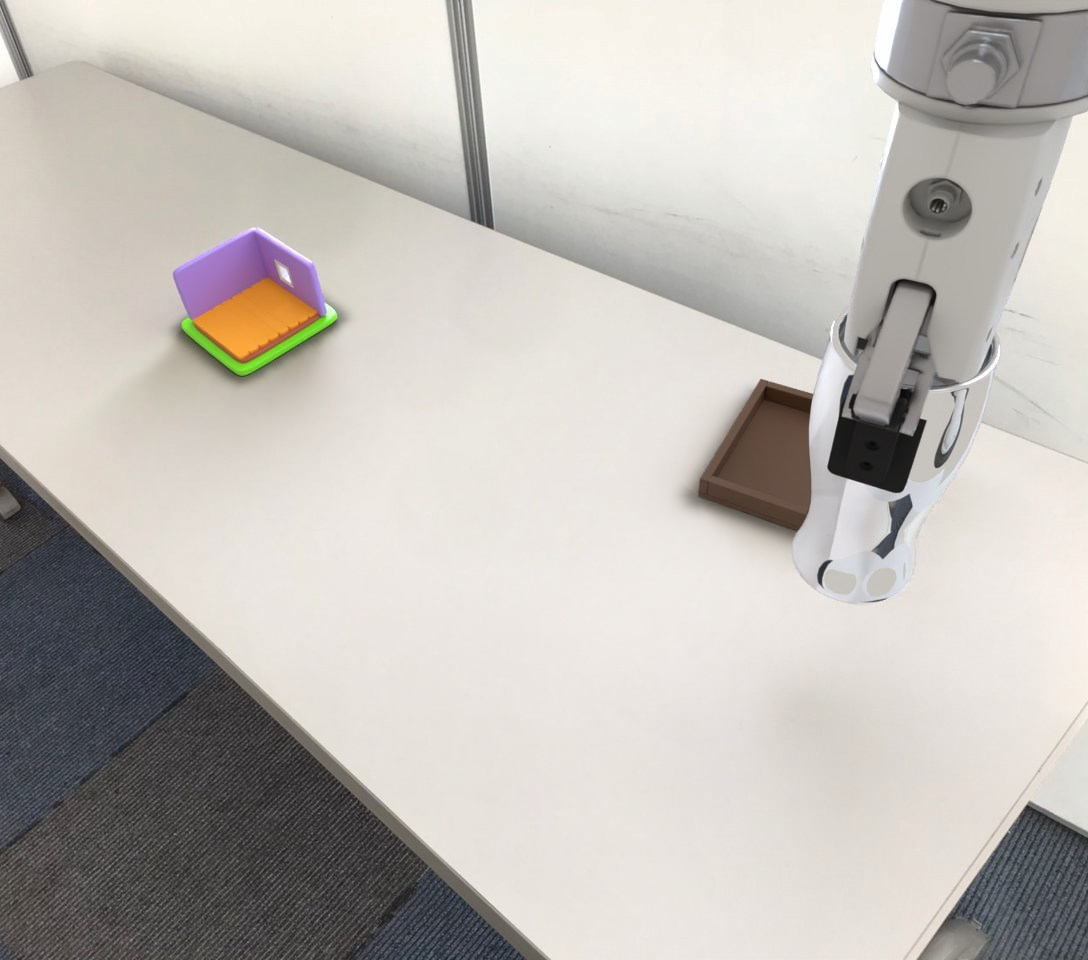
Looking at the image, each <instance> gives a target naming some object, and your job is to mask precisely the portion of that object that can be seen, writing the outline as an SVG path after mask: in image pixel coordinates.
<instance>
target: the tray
mask: <svg viewBox="0 0 1088 960" xmlns="http://www.w3.org/2000/svg"><path fill="white" fill-rule="evenodd" d="M812 397H813V393H811V392H808V391H805V390H801V389H798V388H794V387H790V386H788V385H784V384H780V383H777V382H773V381H769V380H767V379H763V378H760V379H759V380H758V382H757V384H756V385H755V387H754V388H753V390H752V392H751V394H750V395H749V397H748V398H747V401H746V402H745V404H744V405H743V407H742V409H741V410H740V412H738V413H739V414H738V415H737V416H736V418H735V420H734V422H733V423H732V425H731V426H730V428H729V430H728V431H727V433H726V434H725V437H724V438H723V439H722V441H721V443H720V445H718V448H717V449H716V451H715V453H714V454H713V456H712V458H711V459H710V461H709V463H707V466H706V468H705V469H704V471H703V472H702V474H701V476H700V477H699V484H698V492H697V496H698V497H701V498H703V499H705V500H709V501H712V502H714V503H718V504H720V505H723V506H726V507H728V508H732V509H734V510H737V511H740V512H743V513H746V514H749V515H750V516H751V515H752V516H755V517H757V518H760V519H763V520H765V521H768V522H770V523H774V524H776V525H780V526H783V527H786V528H788V529H791V530H794V531H796V532H797V530H798V528H799V526H800V524H801V522H802V521H803V519H804V517H805V515H806V513H807V510H808V507H809V502H810V474H809V455H808V431H809V417H810V410H811V404H812Z"/></svg>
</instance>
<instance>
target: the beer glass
mask: <svg viewBox="0 0 1088 960" xmlns="http://www.w3.org/2000/svg"><path fill="white" fill-rule="evenodd" d="M848 309H849V304H848V305H847V306H846V307H844V308H843V309H842V310H841V311H840V312H838V314H837V315H836V317H835V319H834V320H833V322H832V325H831V329H830V336H829V339H828V341H827V344H826V348H825V350H824V354H823V357H822V360H821V363H820V367H819V369H818V372H817V376H816V381H815V386H814V389H813V393H812V394H813V397H812V404H811V410H810V417H809V431H808V455H809V474H810V502H809V507H808V510H807V513H806V515H805V517H804V519H803V521H802V522H801V524H800V526H799V528H798V530H797V531H796V532H795V534H794V535H793V536H794V537H793V540H792V542H791V543H792V544H791V558H792V563H793V565H794V568H795V569H796V572H797V573H798V575H799V576H800V577H801V578H802V580H803V581H804V582H805V583H806V584H807V585H808V586H810V587H811V588H812V589H813V590H814V591H816V592H817V593H819V594H821V595H823V596H825V597H826V598H830V599H832V600H834V601H838V602H841V603H844V604H845V603H846V604H850V605H859V606H861V605H864V606H865V605H874V604H880V603H884V602H887V601H889V600H892V599H894V598H895V597H897V596H899V595H900V594H902V592H903V591H904V590H905V589H906V588H907V587H908V586H909V585H910V583H911V581H912V579H913V577H914V574H915V571H916V563H917V544H918V538H919V534H920V532H921V530H922V527H923V525H924V523H925V521H926V520H927V518H929V516H930V514H931V513H932V511H933V510H934V508H935V507H936V506H937V504H938V503H939V501H940V500H941V498H942V497H943V496H944V494H945V493H946V492H947V490H948V489H949V488H950V485H951V484H952V483H953V481H954V480H955V478H956V476H957V475H958V473H959V472H960V469H961V468H962V466H963V464H964V463H965V461H966V460H967V458H968V456H969V453H970V451H971V449H972V447H973V444H974V441H975V440H976V438H977V435H978V433H979V429H980V426H981V424H982V420H983V417H984V415H985V411H986V408H987V405H988V401H989V397H990V392H991V389H992V385H993V381H994V376H995V372H996V368H997V365H998V362H999V361H1000V357H1001V355H1002V354H1001V352H1002V346H1001V345H1002V344H1001V340H1000V337H999V335H998V332H997V331H996V332H995V334H994V337H993V339H992V342H991V344H990V347H989V350H988V352H987V354H986V357H985V359H984V362H983V364H982V366H981V368H980V370H979V372H978V374H977V375H975V376H974V377H973V378H971V379H969V380H967V381H965V382H962V383H959V382H955V380H952V379H947V378H942V377H938V375H937V373H936V374H935V376H934V379H933V382H932V385H931V388H930V391H929V394H928V397H927V399H926V402H925V405H924V408H923V411H922V414H921V417H920V418H921V419H924V420H927V422H926V425H925V428H924V431H923V435H922V438H921V441H920V444H919V447H918V450H917V453H916V456H915V459H914V462H913V466H912V469H911V472H910V475H909V478H908V481H907V484H906V486H905V488H904V490H903V491H902V492H901V493H892V492H889V491H886V490H882V489H879V488H876V487H873V486H869V485H866V484H863V483H860V482H856V481H853V480H850V479H847V478H843V477H840V476H837V475H834V474H832V473H831V472H829V470H828V468H827V465H828V461H829V457H830V452H831V448H832V444H833V439H834V435H835V431H836V426H837V422H838V418H839V413H840V409H841V405H842V403H843V401H844V399H845V398H847V395H848V392H849V389H850V386H851V382H852V379H853V376H854V373H855V370H856V366H857V363H858V360H859V357H860V354H861V352H860V351H859V353H858V354H857V355H856V356H853V355H852V354H851V352H850V351H849V350H848V348H847V346H846V344H845V342H844V337H845V328H846V321H847V315H848ZM915 349H916V350H920V351H924V352H929V353H930V352H931V351H930V347H929V342H928V338H927V337H924V336H920V337H919V339H918V342H917V345H916V348H915ZM918 374H919V372H917V371H913V370H909V369H907V372H906V375H905V377H904V380H903V383H902V386H901V390H900V396H899V397H901V398H905V399H907V401H908V403H909V400H910V397H911V394H912V392H913V389H914V386H915V383H916V380H917V377H918Z"/></svg>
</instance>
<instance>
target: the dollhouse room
mask: <svg viewBox="0 0 1088 960" xmlns="http://www.w3.org/2000/svg"><path fill="white" fill-rule="evenodd" d="M172 278H173V281H174V284H175V287H176V289H177V292H178V294H179V297H180V300H181V302H182V304H183V307H184V309H185V311H186V314H187V316H188V317H186V318H185V319H183V320H182V322H181V328H182V330H183V332H185V334H186V335H187V336H188V337H190V338H191V339H192V340H193V341H194V342H196V343H197V344H198V345H199V346H201V348H203V349H204V351H206V352H207V353H209V354H210V355H211V356H212V357H214V358H215V359H216V360H218V362H220V363H221V364H222V365H224V366H225V367H226V368H228V370H230V371H231V372H233V373H235V374H236V375H238V376H241V377H243V376H247V375H250V374H251V373H254V372H255V371H257V370H259V369H260V368H262V367H264V366H265V365H267V364H269V363H270V362H273V361H274V360H276V359H277V358H279V357H280V356H283V355H284V354H285V353H286V352H289V351H290V350H292V349H294V348H295V347H298V345H300V344H302V343H304V342H305V341H307V340H308V339H310V338H311V337H313V336H314V335H316V334H317V333H319V332H321V331H323V330H325V329H326V328H327V327H329V326H330V325H332V324H333V323H335V322H336V321H337V320H338V313H337V311H336V310H335V309H334V308H333V307H331V306H330V305H329V304H328V303H326V302H325V298H324V295H323V291H322V290H323V289H322V287H321V283H320V279H319V275H318V271H317V269H316V265H315V262H313V261H312V260H310V259H309V258H307V257H306V256H304V255H302V254H301V253H299V252H298V251H296V250H295V249H293V248H291V247H289V246H288V245H287V244H285V243H283V242H282V241H280V240H279V239H278V238H276V237H274V236H273V235H271V234H269V233H268V232H266V231H265V230H263V229H261V228H260V227H251V228H248V229H246V230H243V231H242V232H240V233H238V234H236V235H234V236H233V237H230V238H229V239H227V240H225V241H223V242H221V243H219V244H218V245H216V246H214V247H212V248H210V249H209V250H207V251H205V252H203V253H201V254H199V255H197V256H196V257H194V258H191V259H190V260H188V261H187V262H185V263H183V264H182V265H180V266H178V267H177V268H176V269H174V270H173V272H172Z"/></svg>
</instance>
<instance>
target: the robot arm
mask: <svg viewBox="0 0 1088 960" xmlns="http://www.w3.org/2000/svg"><path fill="white" fill-rule="evenodd" d="M878 21H879V22H878V26H877V32H876V38H875V41H874V47H873V55H872V58H871V59H872V60H871V64H870V72H871V76H872V79H873V81H874V82H875V84H876V86H877V87H878V88H879V89H881V91H883V93H884V94H886V95H887V96H889V97H890V98H892V100H895V102H896V103H895V106H894V109H893V113H892V118H891V122H890V126H889V130H888V134H887V138H886V142H885V146H884V150H883V154H882V157H881V158H880V161H879V170H878V175H877V178H876V182H875V183H876V184H875V188H874V191H873V195H872V200H871V204H870V208H869V213H868V217H867V221H866V225H865V229H864V233H863V238H862V242H861V247H860V252H859V255H858V256H859V257H858V261H857V265H856V270H855V275H854V279H853V284H852V289H851V294H850V299H849V304H848V305H849V309H848V315H847V321H846V328H845V337H844V342H845V344H846V346H847V348H848V350H849V351H850V352H851V354H852V355H853V356H856V355H857V354H858V353H859V351H860V352H861V354H860V357H859V360H858V363H857V366H856V370H855V373H854V376H853V379H852V382H851V386H850V389H849V392H848V395H847V398H845V399H844V401H843V403H842V405H841V409H840V413H839V418H838V422H837V426H836V431H835V435H834V439H833V444H832V448H831V452H830V457H829V461H828V465H827V468H828V470H829V472H831V473H832V474H834V475H837V476H840V477H843V478H847V479H850V480H853V481H856V482H860V483H863V484H866V485H869V486H873V487H876V488H879V489H882V490H886V491H889V492H892V493H901V492H902V491H903V490H904V488H905V486H906V484H907V481H908V478H909V475H910V472H911V469H912V466H913V462H914V459H915V456H916V453H917V450H918V447H919V444H920V441H921V438H922V435H923V431H924V428H925V425H926V422H927V420H924V419H921V418H920V417H921V414H922V411H923V408H924V405H925V402H926V399H927V397H928V394H929V391H930V388H931V385H932V382H933V379H934V376H935V374H936V373H937V375H938V377H942V378H947V379H952V380H955V382H959V383H962V382H965V381H967V380H969V379H971V378H973V377H974V376H975V375H977V374H978V372H979V370H980V368H981V366H982V364H983V362H984V359H985V357H986V354H987V352H988V350H989V347H990V344H991V342H992V339H993V337H994V334H995V332H996V333H997V329H998V327H999V324H1000V321H1001V319H1002V316H1003V314H1004V311H1005V309H1006V307H1007V304H1008V301H1009V299H1010V296H1011V293H1012V292H1013V288H1014V286H1015V283H1016V281H1017V278H1018V275H1019V273H1020V270H1021V267H1022V264H1023V262H1024V258H1025V256H1026V253H1027V250H1028V248H1029V245H1030V242H1031V240H1032V238H1033V235H1034V232H1035V229H1036V227H1037V224H1038V221H1039V218H1040V216H1041V212H1042V210H1043V206H1044V203H1045V200H1046V198H1047V195H1048V194H1049V191H1050V188H1051V185H1052V181H1053V179H1054V177H1055V173H1056V171H1057V167H1058V165H1059V162H1060V159H1061V156H1062V152H1063V150H1064V147H1065V143H1066V141H1067V137H1068V134H1069V131H1070V128H1071V124H1072V121H1073V118H1074V116H1077V115H1081V114H1085V113H1087V112H1088V0H882V6H881V11H880V16H879V20H878ZM920 336H924V337H927V338H928V342H929V347H930V351H931V352H930V353H929V352H924V351H920V350H916V349H915V348H916V345H917V342H918V339H919V337H920ZM907 369H909V370H913V371H917V372H919V374H918V377H917V380H916V383H915V386H914V389H913V392H912V394H911V397H910V400H909V403H908V401H907V399H905V398H901V397H899V396H900V390H901V386H902V383H903V380H904V377H905V375H906V372H907Z"/></svg>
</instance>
